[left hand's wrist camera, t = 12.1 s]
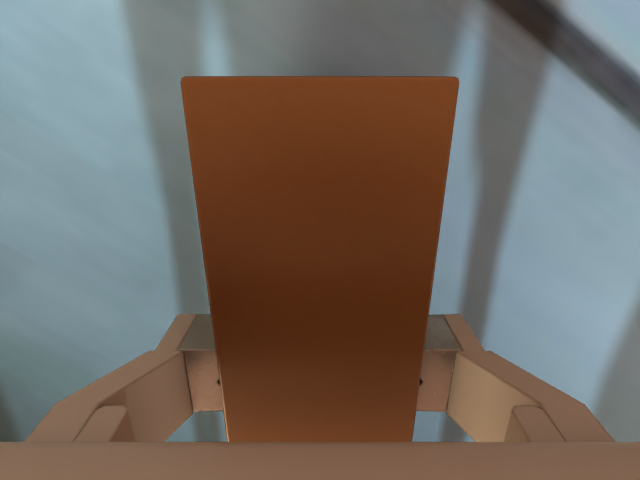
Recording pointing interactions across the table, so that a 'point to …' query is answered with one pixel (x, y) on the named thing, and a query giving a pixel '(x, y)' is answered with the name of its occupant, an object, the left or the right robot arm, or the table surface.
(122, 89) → the table surface
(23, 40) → the table surface
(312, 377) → the bar
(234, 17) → the table surface
